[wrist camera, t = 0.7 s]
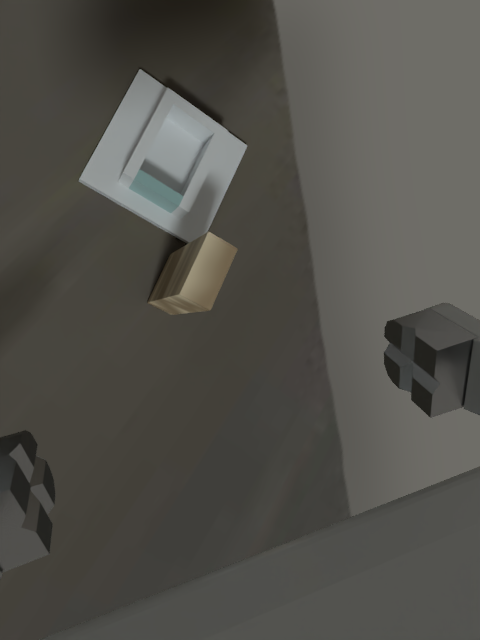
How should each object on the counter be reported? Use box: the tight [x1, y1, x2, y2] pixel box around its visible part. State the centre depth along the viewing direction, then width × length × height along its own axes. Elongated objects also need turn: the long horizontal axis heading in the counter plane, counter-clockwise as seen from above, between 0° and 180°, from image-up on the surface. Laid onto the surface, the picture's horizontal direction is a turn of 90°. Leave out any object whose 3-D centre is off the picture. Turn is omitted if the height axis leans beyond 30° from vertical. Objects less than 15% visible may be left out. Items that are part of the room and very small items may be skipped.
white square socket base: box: [79, 69, 247, 244], centre depth 46 cm, size 14×14×4 cm
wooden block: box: [147, 232, 237, 315], centre depth 42 cm, size 3×6×12 cm, turn 155°
